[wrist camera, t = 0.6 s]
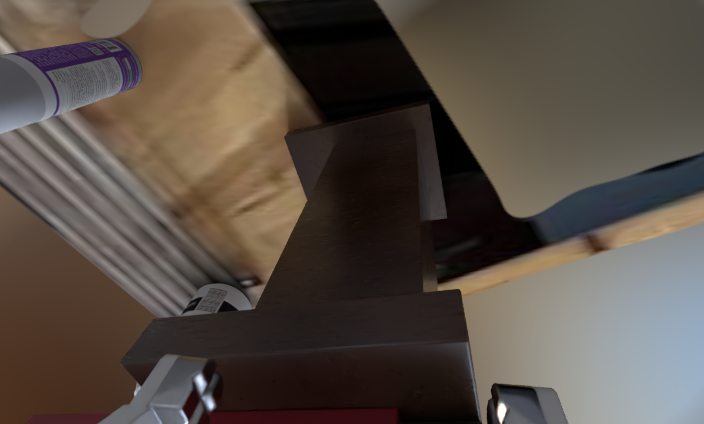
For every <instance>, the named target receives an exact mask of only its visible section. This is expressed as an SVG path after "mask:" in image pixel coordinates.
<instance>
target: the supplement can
mask: <svg viewBox="0 0 704 424" xmlns="http://www.w3.org/2000/svg"><path fill="white" fill-rule="evenodd" d="M250 309H252V307H251V304H250V302H249V301H248V299H247V298H246V296H245V295H244V294H243V293H242V292H241V291H239V290H238V289H237V288H234V287H232V286H230V285H226V284H220V283H218V284H208V285H205V286H203V287H201V288H200V289H199V290H198V292H197V293H196V294H195V296H194V297H193V299H192V300H191V301H190V303H189V304H188V306H187V307H186V309H185V310H184V311H183V313H182V314H181V316H189V315H199V314H209V313H219V312H230V311H240V310H250ZM140 388H141V386H140V385H139V384H138V383H137V385H136V391H135V392H134V396H135V395H136V394H137V392H138V391H139V390H140Z"/></svg>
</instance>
